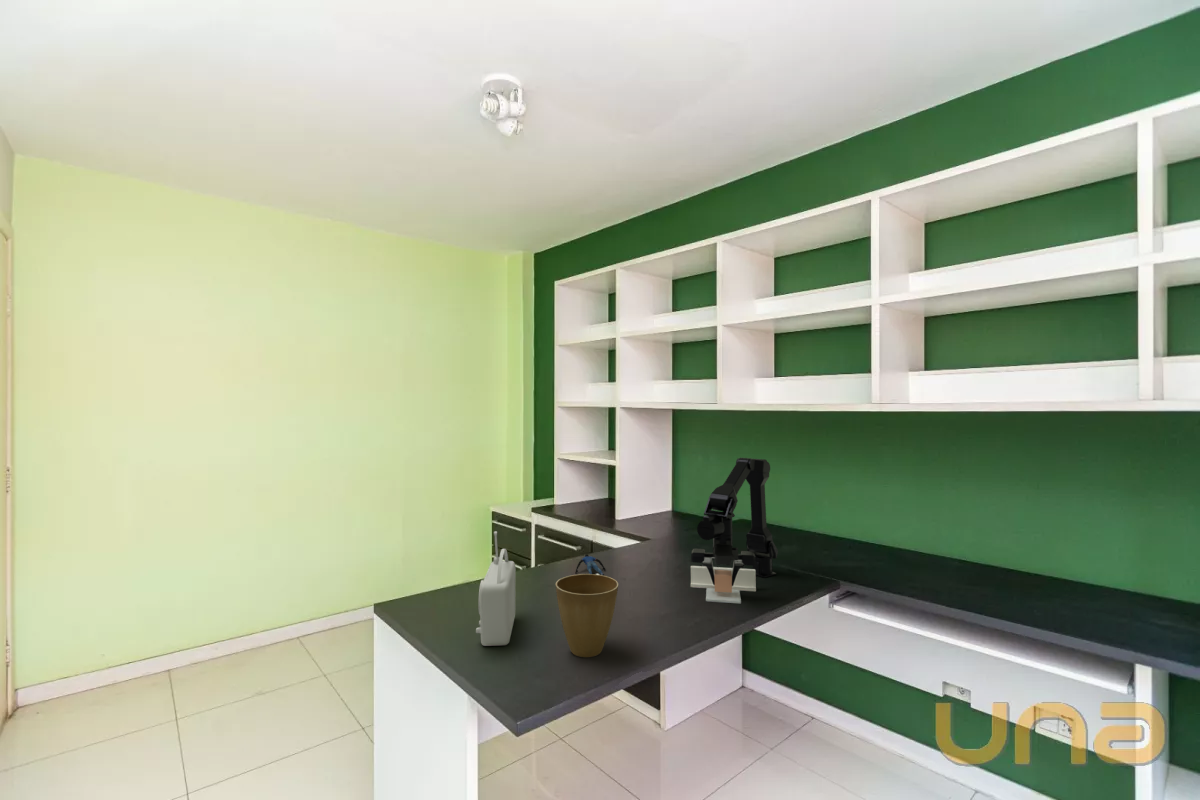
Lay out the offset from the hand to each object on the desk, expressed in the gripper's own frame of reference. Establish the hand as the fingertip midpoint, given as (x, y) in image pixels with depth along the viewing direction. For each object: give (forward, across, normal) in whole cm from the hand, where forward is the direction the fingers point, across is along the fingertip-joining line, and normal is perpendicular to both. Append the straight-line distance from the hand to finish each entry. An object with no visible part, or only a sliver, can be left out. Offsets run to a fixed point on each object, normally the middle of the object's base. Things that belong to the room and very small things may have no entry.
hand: (723, 585), depth 164 cm
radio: (+4, -57, -38) cm, 69 cm away
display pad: (+3, 0, 0) cm, 3 cm away
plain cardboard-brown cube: (+1, 0, 0) cm, 1 cm away
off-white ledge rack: (+3, 0, +8) cm, 9 cm away
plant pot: (+4, -32, -43) cm, 54 cm away
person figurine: (+4, -44, +13) cm, 46 cm away
